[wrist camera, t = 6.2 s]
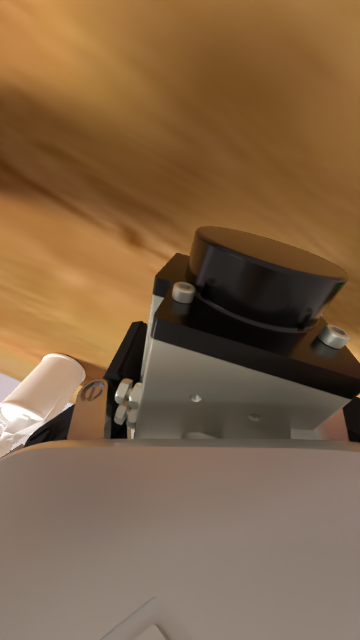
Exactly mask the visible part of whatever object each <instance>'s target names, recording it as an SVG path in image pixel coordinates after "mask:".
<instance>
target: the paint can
mask: <svg viewBox="0 0 360 640" xmlns="http://www.w3.org/2000/svg"><path fill="white" fill-rule="evenodd" d="M85 377H86V374H85V370H84V368H83V367H82V366H81V365H80V364H79V363H78V362H77V361H76V360H74V359H73V358H71V357H69V356H66V355H63V354H58V353H52V354H48V355H46V356H45V357H44V358H43V359H42V362H41V363H40V364H39V365H38V366H37V367H36V368H35V369H34V370H33V371H32V372H31V373H30V374H29V375H28V376H27V377H26V378H25V379H24V380H23V381H22V382H21V383H20V384H19V385H18V386H17V387H16V388H15V389H14V390H13V392H11V393H10V394H9V396H8V397H6V398H5V399H4V400H3V401H2V402H1V403H0V421H1V422H2V423H4V424H5V425H7V426H6V427H5V428H4V426H3V424H0V426H1V427H2V430H1V433H0V437H1V435H2V437H1V438H0V458H1V457H2V456H4V455H5V454H7V452H8V451H11V450H10V449H11V447H12V445H13V444H15V443H17V442H18V441H19V440H20V439H21V438H22V437H24V436H26V435H28V434H29V435H32V434H33V433H34V431H36V430H37V429H38V428H39V427H41V426H42V425H44V424H45V423H47V422H48V421H50V420H51V419H53V418H54V417H56V416H57V415H59V414H60V413H61V412H62V410H63V409H64V407H65V406H66V404H67V403H68V401H69V400H70V398H71V397H72V395H73V394H74V392H75V391H76V389H77V388H78V386H79V385H80V383H82V382H83V381H84V380H85Z"/></svg>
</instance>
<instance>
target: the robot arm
mask: <svg viewBox="0 0 360 640" xmlns="http://www.w3.org/2000/svg"><path fill="white" fill-rule="evenodd" d="M147 328H148V327H147V324H146V323H143V321H138V322H133V323H132V324H131V326H130V328H129V330H128V332H127V334H126V336H125V338H124V339H123V341H122V343H121V345H120V347H119V349H118V351H117V353H116V355H115V357H114V358H113V360H112V362H111V364H110V366H109V368H108V370H107V372H106V374H105V376H104V378H103V379H94V380H92V381H90V382H88V383H87V384H85V385H84V386H83V387H82V388H81V390H80V391H79V393H78V395H77V399H76V403H75V404H74V405H72V406H71V407H69V408H68V409H66V410H65V411H63V412H62V413H60V414H59V415H57V416H56V417H54V418H53V419H51V420H50V421H48V422H47V423H45V424H44V425H42V426H41V427H39V428H38V429H37V430H36V431H34V433H33V434H32V435H31V436H30V437H29V438H28V440H27V442H26V443H25V445H23V444H21V445H19V446H18V447H16V448H15V449H13V450H12V451H10V452H9V453H7V454H5V455H4V456H2V457H1V458H0V640H360V398H358V397H355V398H354V399H352V400H351V401H350V402H349V403H347V404H346V405H345V406H344V407H342V408H341V409H340V410H339V411H337V412H336V413H335V414H334V415H332V416H331V417H330V418H329V419H327V420H326V421H325V422H324V423H322V424H321V425H320V426H319V427H317V428H316V429H315V430H305V429H293V428H291V431H290V436H289V439H131V428H129V427H128V426H127V425H126V422H127V419H125V420H124V422H123V424H122V425H120V424H117V423H116V422H115V421H114V417H115V413H116V411H117V408H118V406H119V404H118V403H117V402H116V401H115V395H116V391H117V389H118V387H119V384H120V383H121V381H122V380H123V379H130V380H133V384H132V388H134V386H135V384H136V383H139V382H140V375H141V368H142V361H143V355H144V348H145V341H146V335H147ZM127 401H129V398H128V399H127ZM129 409H131V407H130V408H129Z"/></svg>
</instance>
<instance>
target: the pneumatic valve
mask: <svg viewBox="0 0 360 640" xmlns="http://www.w3.org/2000/svg"><path fill="white" fill-rule="evenodd" d="M348 278H349V277H348V274H347V272H346V271H345V270H343V269H342V268H341V267H339V266H338V265H336V264H334V263H332V262H330V261H328V260H326V259H324V258H322V257H320V256H317V255H315V254H312V253H310V252H307V251H305V250H302V249H299V248H297V247H294V246H291V245H288V244H285V243H282V242H279V241H276V240H272V239H269V238H266V237H262V236H258V235H255V234H251V233H247V232H243V231H238V230H233V229H228V228H222V227H214V226H203V227H200V228H198V229H197V230H196V231H195V235H194V239H193V244H192V248H191V252H190V256H187V255H183V254H180V253H176V254H175V255H174V256H173V257H172V258H171V259H170V261H169V262H168V263H167V264H166V265H165V266H164V267H163V268H162V269H161V270H160V271H159V272H158V273H157V274H156V276H155V281H154V288H153V294H152V301H151V308H150V314H149V321H148V328H147V335H146V341H145V348H144V355H143V361H142V368H141V375H140V382H139V383H136V384H135V386H134V388H132V384H133V380H130V379H123V380H122V381H121V383H120V384H119V387H118V389H117V391H116V395H115V401H116V402H117V403H118V404H119V406H118V408H117V411H116V413H115V417H114V421H115V422H116V423H117V424H120V425H122V424H123V422H124V420H125V419H127V422H126V425H127V426H128V427H129V428H132V429H133V428H135V432H134V438H133V439H289V436H290V431H291V428H293V429H305V430H315V429H316V428H317V427H319V426H320V425H321V424H322V423H324V422H325V421H326V420H327V419H329V418H330V417H331V416H332V415H334V414H335V413H336V412H337V411H339V410H340V409H341V408H342V407H344V406H345V405H346V404H347V403H349V402H350V401H351V400H352V399H354V398H355V397H356V396H357V395H359V394H360V363H359V362H358V361H357V359H356V358H355V357H354V356H353V354H352V353H351V352H350V351H349V349H348V348H347V347H346V346H345V344H346V343H347V342H348V341H349V340H350V338H351V337H350V335H349V334H348V333H347V332H346V331H345V330H343V329H341V328H339V327H337V326H334V325H328V323H327V322H326V321H325V320H324V319H323V317H322V316H321V315H322V313H323V312H324V311H325V310H326V308H327V307H328V306H329V304H330V303H331V302H332V300H333V299H334V298H335V296H336V295H337V294H338V292H339V291H340V290H341V288H342V287H343V286H344V285H345V283H346V282H347V281H348ZM128 398H129V401H127V399H128ZM130 407H131V409H129V408H130Z"/></svg>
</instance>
